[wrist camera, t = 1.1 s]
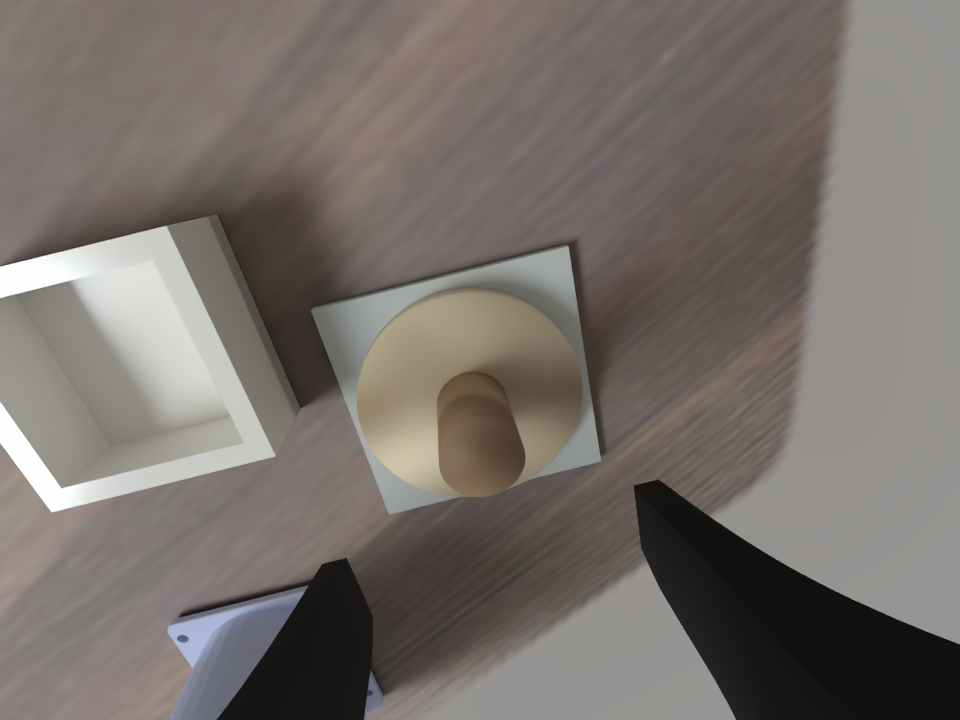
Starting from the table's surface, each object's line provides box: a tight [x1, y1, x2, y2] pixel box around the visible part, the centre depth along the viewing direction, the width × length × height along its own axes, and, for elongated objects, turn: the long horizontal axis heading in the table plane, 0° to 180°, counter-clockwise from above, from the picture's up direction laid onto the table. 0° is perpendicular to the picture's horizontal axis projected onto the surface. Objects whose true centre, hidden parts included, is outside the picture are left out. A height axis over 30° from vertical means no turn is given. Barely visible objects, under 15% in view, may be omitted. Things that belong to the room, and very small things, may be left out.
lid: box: [357, 287, 583, 497], centre depth 18 cm, size 9×9×5 cm
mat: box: [311, 245, 601, 515], centre depth 20 cm, size 10×10×1 cm
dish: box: [0, 214, 300, 512], centre depth 17 cm, size 8×8×4 cm
